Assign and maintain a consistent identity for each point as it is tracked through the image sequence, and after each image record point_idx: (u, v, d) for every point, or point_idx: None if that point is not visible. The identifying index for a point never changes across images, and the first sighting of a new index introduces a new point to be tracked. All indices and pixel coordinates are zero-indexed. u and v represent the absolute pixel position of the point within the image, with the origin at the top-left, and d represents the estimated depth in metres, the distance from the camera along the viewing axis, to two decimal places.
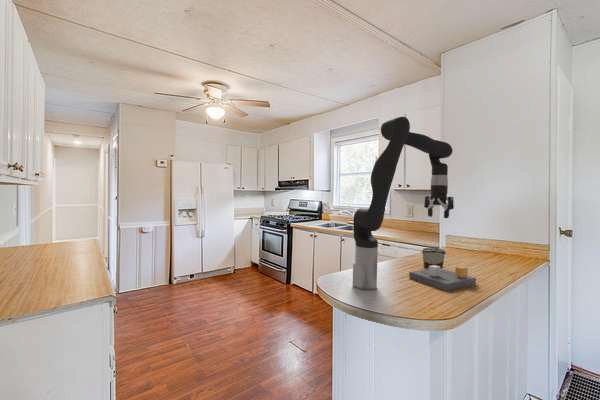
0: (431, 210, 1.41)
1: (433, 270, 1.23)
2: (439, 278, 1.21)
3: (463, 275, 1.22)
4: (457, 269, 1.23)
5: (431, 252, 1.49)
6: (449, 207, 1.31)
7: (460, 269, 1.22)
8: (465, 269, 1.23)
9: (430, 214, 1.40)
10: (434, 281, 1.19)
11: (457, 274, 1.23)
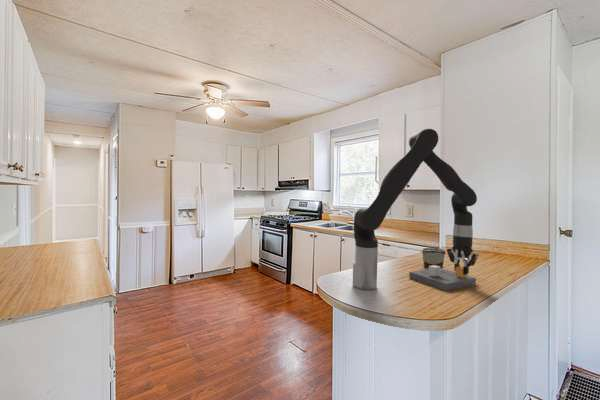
0: (458, 265, 1.25)
1: (433, 270, 1.23)
2: (439, 278, 1.21)
3: (463, 275, 1.22)
4: (457, 269, 1.23)
5: (431, 252, 1.49)
6: (469, 264, 1.19)
7: (460, 269, 1.22)
8: None
9: None
10: (434, 281, 1.19)
11: (457, 274, 1.23)
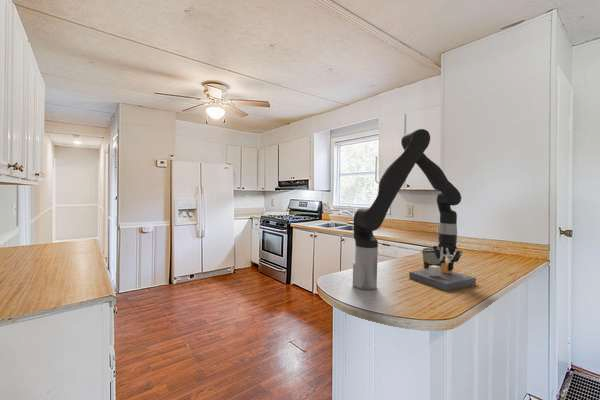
0: (444, 262, 1.31)
1: (433, 270, 1.23)
2: (439, 278, 1.21)
3: (448, 271, 1.28)
4: (442, 265, 1.29)
5: (431, 252, 1.49)
6: (453, 260, 1.26)
7: (445, 265, 1.28)
8: None
9: None
10: (434, 281, 1.19)
11: (442, 270, 1.29)
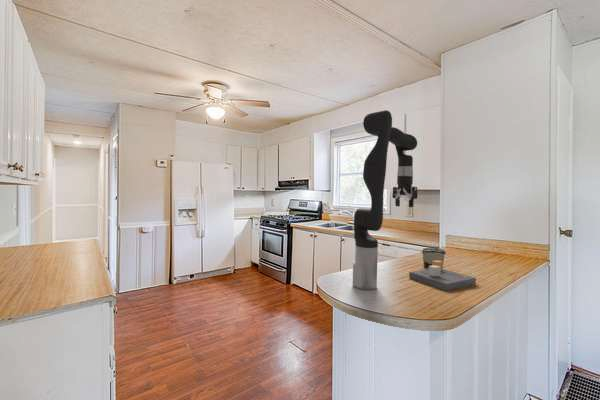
0: (398, 200, 1.47)
1: (433, 270, 1.23)
2: (439, 278, 1.21)
3: None
4: (433, 263, 1.34)
5: (431, 252, 1.49)
6: (413, 196, 1.37)
7: (436, 263, 1.33)
8: (440, 263, 1.33)
9: (397, 204, 1.47)
10: (434, 281, 1.19)
11: None
